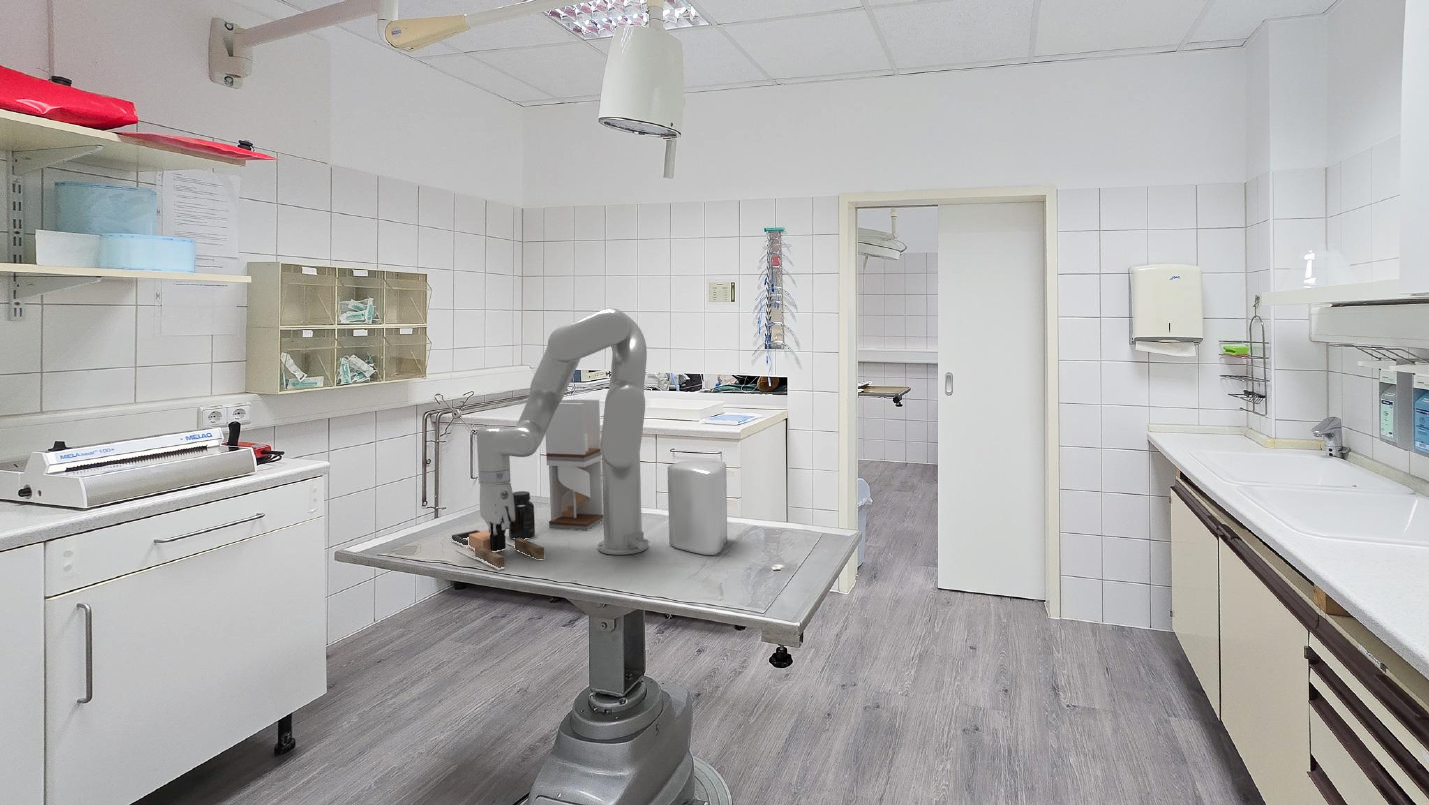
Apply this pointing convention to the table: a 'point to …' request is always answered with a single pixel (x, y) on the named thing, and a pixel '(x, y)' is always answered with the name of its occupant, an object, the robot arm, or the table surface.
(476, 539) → the block
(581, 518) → the display case
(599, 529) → the table surface
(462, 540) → the black u-shaped bracket
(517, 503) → the supplement bottle
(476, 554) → the channel
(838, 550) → the table surface
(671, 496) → the grey rounded upright block
